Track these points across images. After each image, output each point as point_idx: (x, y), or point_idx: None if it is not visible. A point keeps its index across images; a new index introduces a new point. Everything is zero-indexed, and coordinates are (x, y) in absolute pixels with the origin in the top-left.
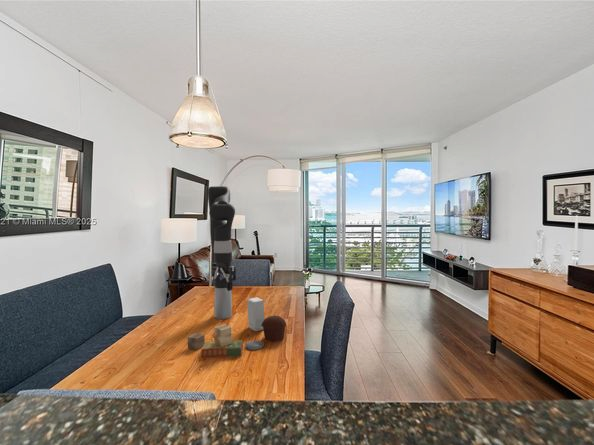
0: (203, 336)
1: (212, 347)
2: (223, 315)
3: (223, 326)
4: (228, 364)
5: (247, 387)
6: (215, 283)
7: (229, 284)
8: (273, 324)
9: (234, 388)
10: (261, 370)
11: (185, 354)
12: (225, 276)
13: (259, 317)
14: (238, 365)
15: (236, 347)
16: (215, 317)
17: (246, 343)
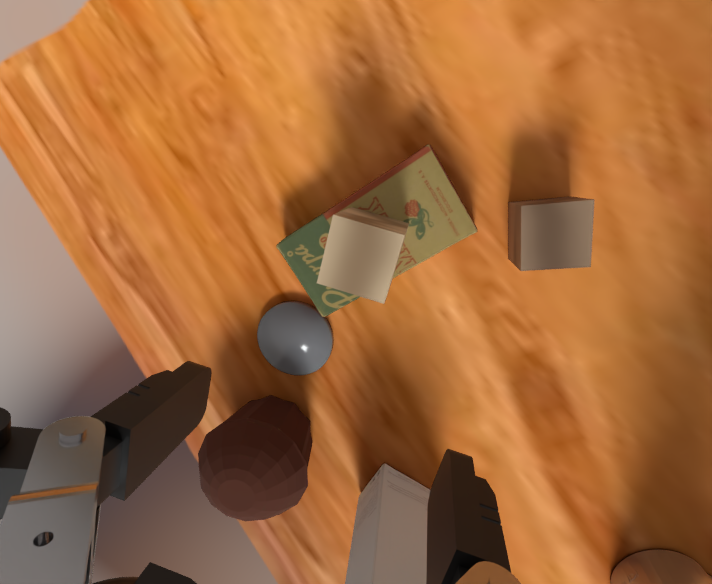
0: (519, 260)
1: (392, 186)
2: (643, 571)
3: (363, 270)
4: (283, 155)
5: (110, 44)
6: (466, 489)
7: (112, 406)
8: (219, 442)
9: (140, 11)
10: (149, 174)
11: (533, 139)
12: (45, 492)
13: (364, 525)
14: (243, 167)
15: (294, 240)
16: (693, 560)
17: (329, 336)
